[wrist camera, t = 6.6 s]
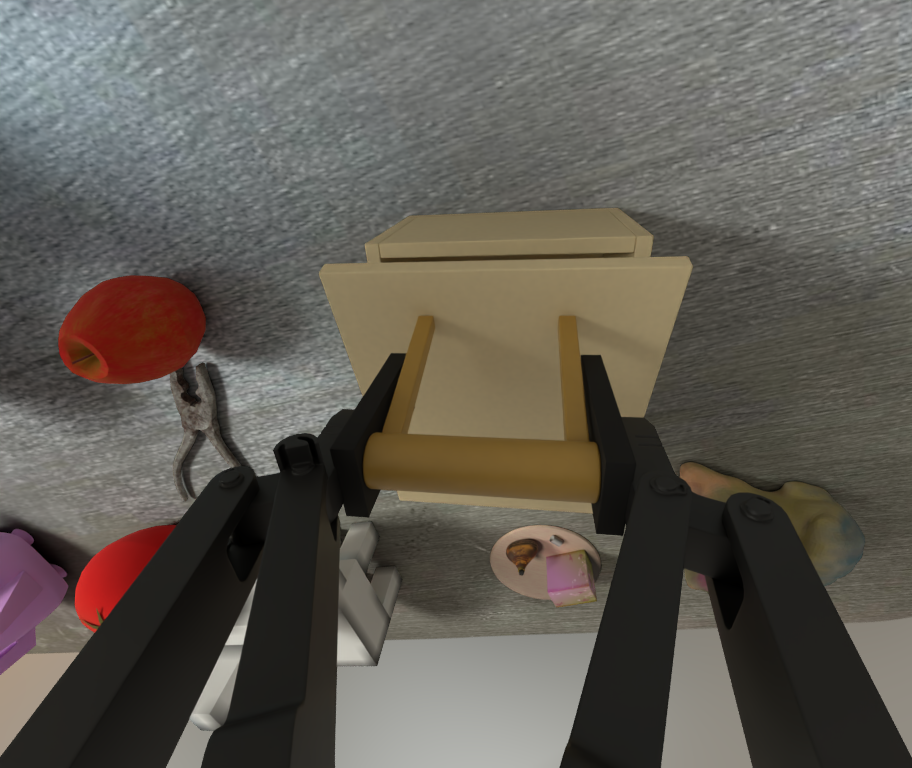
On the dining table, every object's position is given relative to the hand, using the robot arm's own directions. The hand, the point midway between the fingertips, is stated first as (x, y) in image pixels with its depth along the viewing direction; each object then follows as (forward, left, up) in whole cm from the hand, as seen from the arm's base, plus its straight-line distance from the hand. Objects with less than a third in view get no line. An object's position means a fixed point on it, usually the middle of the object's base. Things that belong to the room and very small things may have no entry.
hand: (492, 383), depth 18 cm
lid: (+3, -3, -4) cm, 6 cm away
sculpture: (+30, +1, -17) cm, 35 cm away
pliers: (-10, -36, -17) cm, 41 cm away
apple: (-18, -23, -17) cm, 34 cm away
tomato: (-4, -53, -17) cm, 56 cm away
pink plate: (+26, -19, -17) cm, 36 cm away
